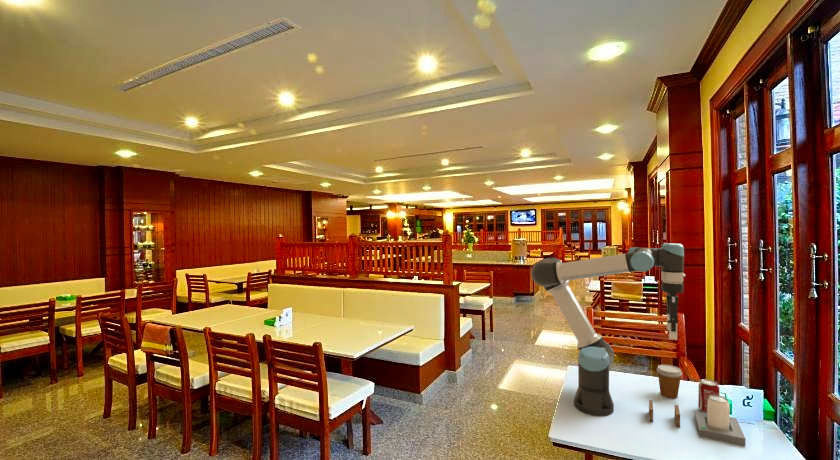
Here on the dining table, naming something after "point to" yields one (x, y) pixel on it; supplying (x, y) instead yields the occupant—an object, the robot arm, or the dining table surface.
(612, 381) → the dining table surface
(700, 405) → the soda can
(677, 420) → the brown narrow blocks
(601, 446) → the dining table surface
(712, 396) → the can
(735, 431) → the port block
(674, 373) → the disposable coffee cup
